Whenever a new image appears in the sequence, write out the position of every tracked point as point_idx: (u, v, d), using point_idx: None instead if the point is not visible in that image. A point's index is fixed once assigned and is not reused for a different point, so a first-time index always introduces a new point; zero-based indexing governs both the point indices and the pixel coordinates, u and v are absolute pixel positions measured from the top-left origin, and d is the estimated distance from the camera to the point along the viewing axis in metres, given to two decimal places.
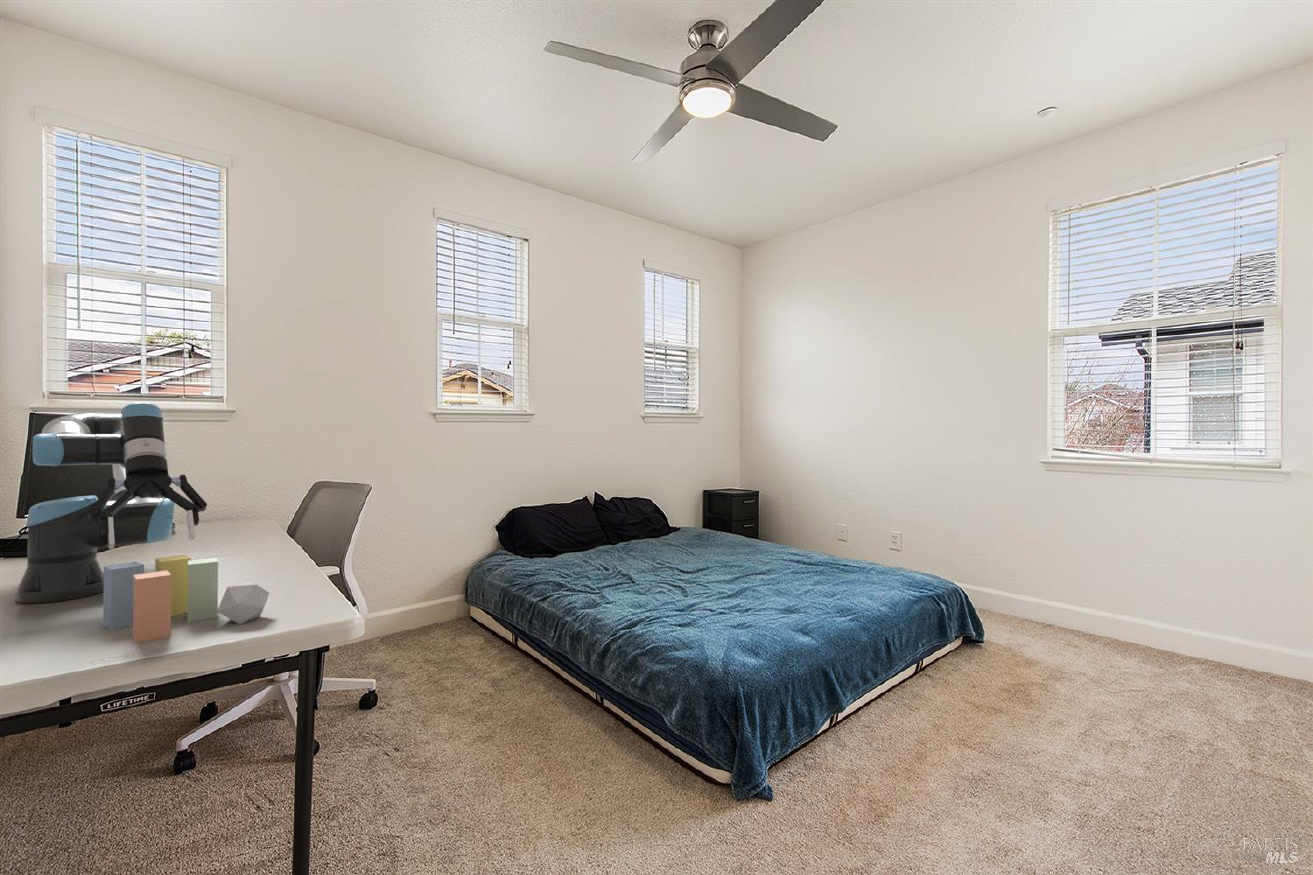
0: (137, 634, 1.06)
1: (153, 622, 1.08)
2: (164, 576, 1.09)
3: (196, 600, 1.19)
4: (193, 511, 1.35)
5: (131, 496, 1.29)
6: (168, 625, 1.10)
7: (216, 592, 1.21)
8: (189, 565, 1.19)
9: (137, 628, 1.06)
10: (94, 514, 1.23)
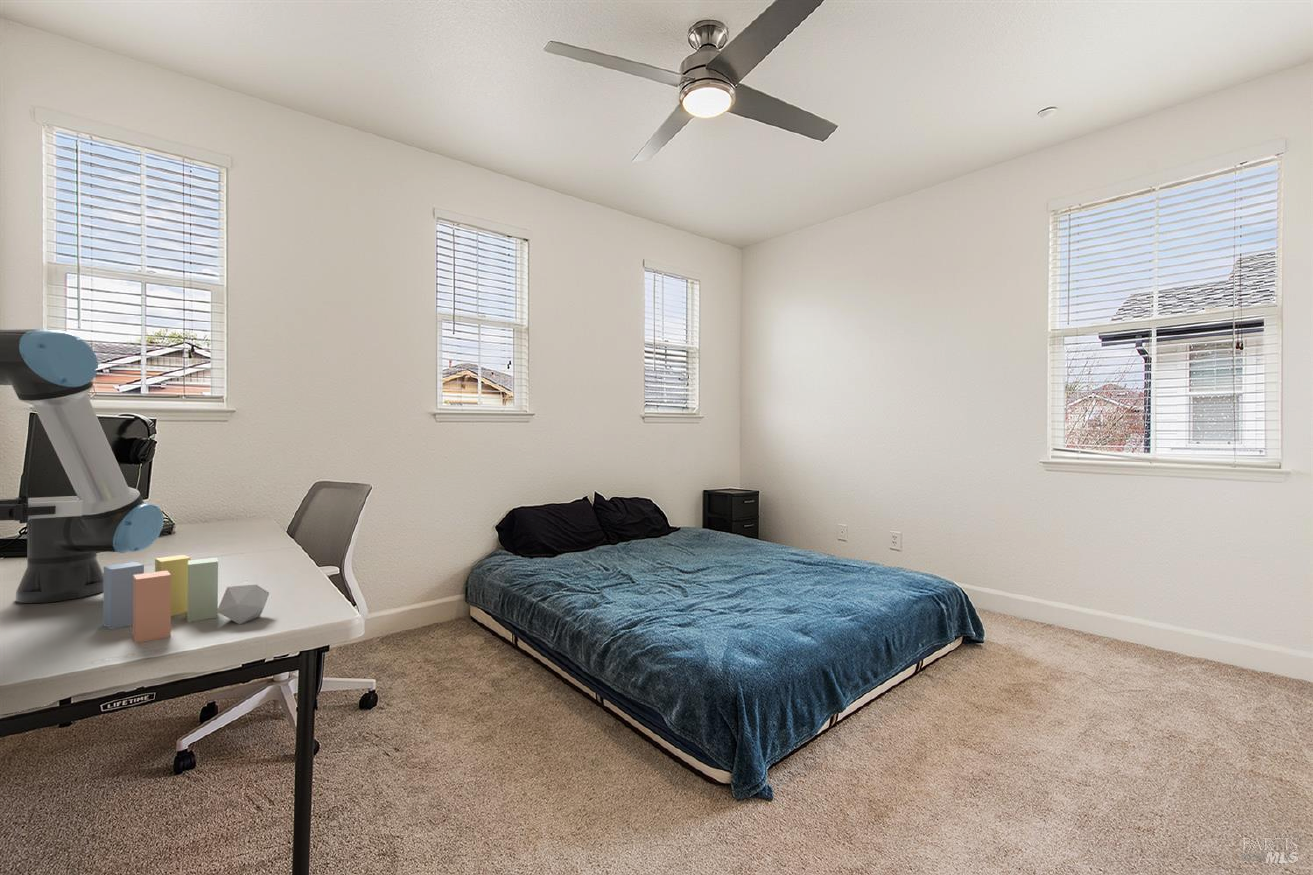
0: (137, 634, 1.06)
1: (153, 622, 1.08)
2: (164, 576, 1.09)
3: (196, 600, 1.19)
4: None
5: None
6: (168, 625, 1.10)
7: (216, 592, 1.21)
8: (189, 565, 1.19)
9: (137, 628, 1.06)
10: None
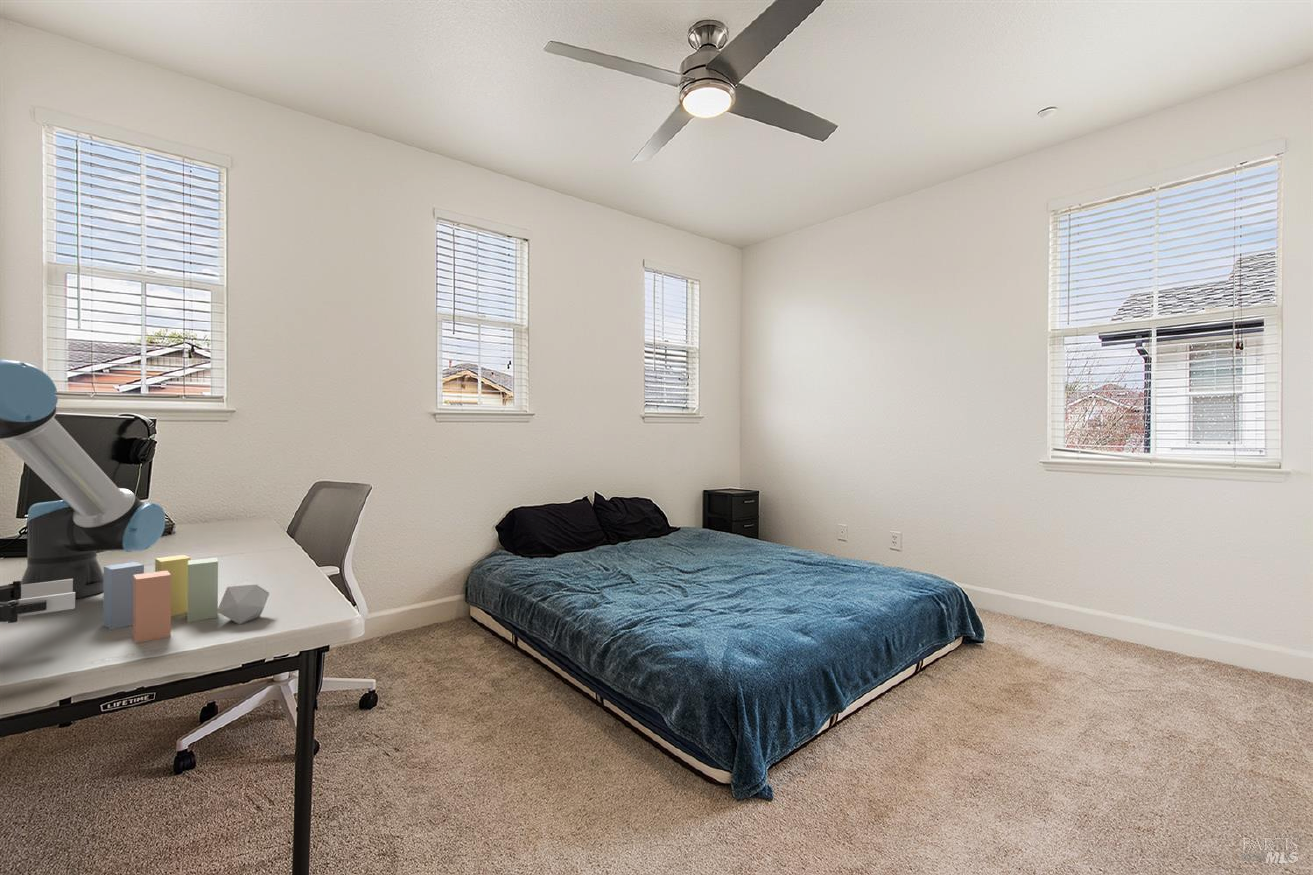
0: (137, 634, 1.06)
1: (153, 622, 1.08)
2: (164, 576, 1.09)
3: (196, 600, 1.19)
4: None
5: None
6: (168, 625, 1.10)
7: (216, 592, 1.21)
8: (189, 565, 1.19)
9: (137, 628, 1.06)
10: None
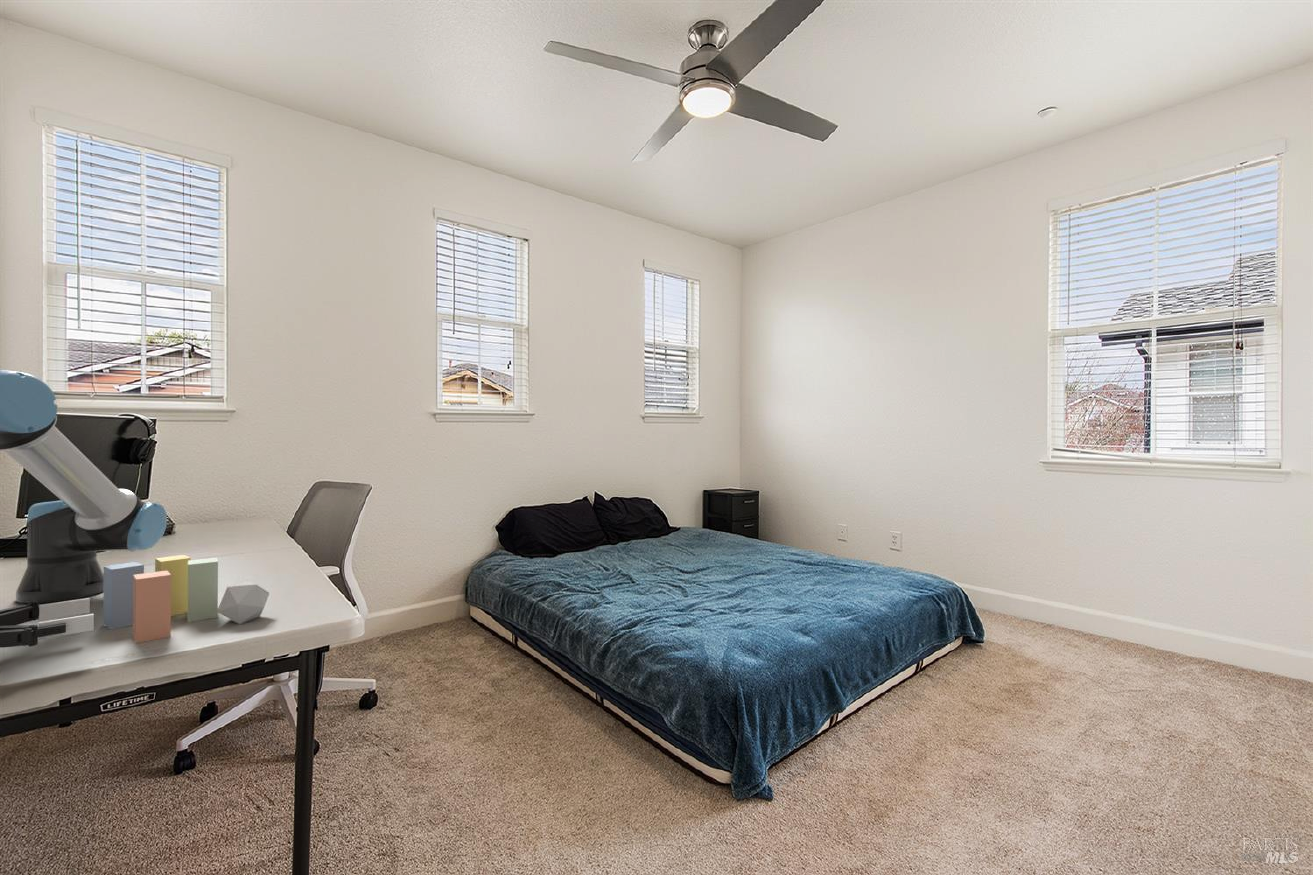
0: (137, 634, 1.06)
1: (153, 622, 1.08)
2: (164, 576, 1.09)
3: (196, 600, 1.19)
4: None
5: None
6: (168, 625, 1.10)
7: (216, 592, 1.21)
8: (189, 565, 1.19)
9: (137, 628, 1.06)
10: None
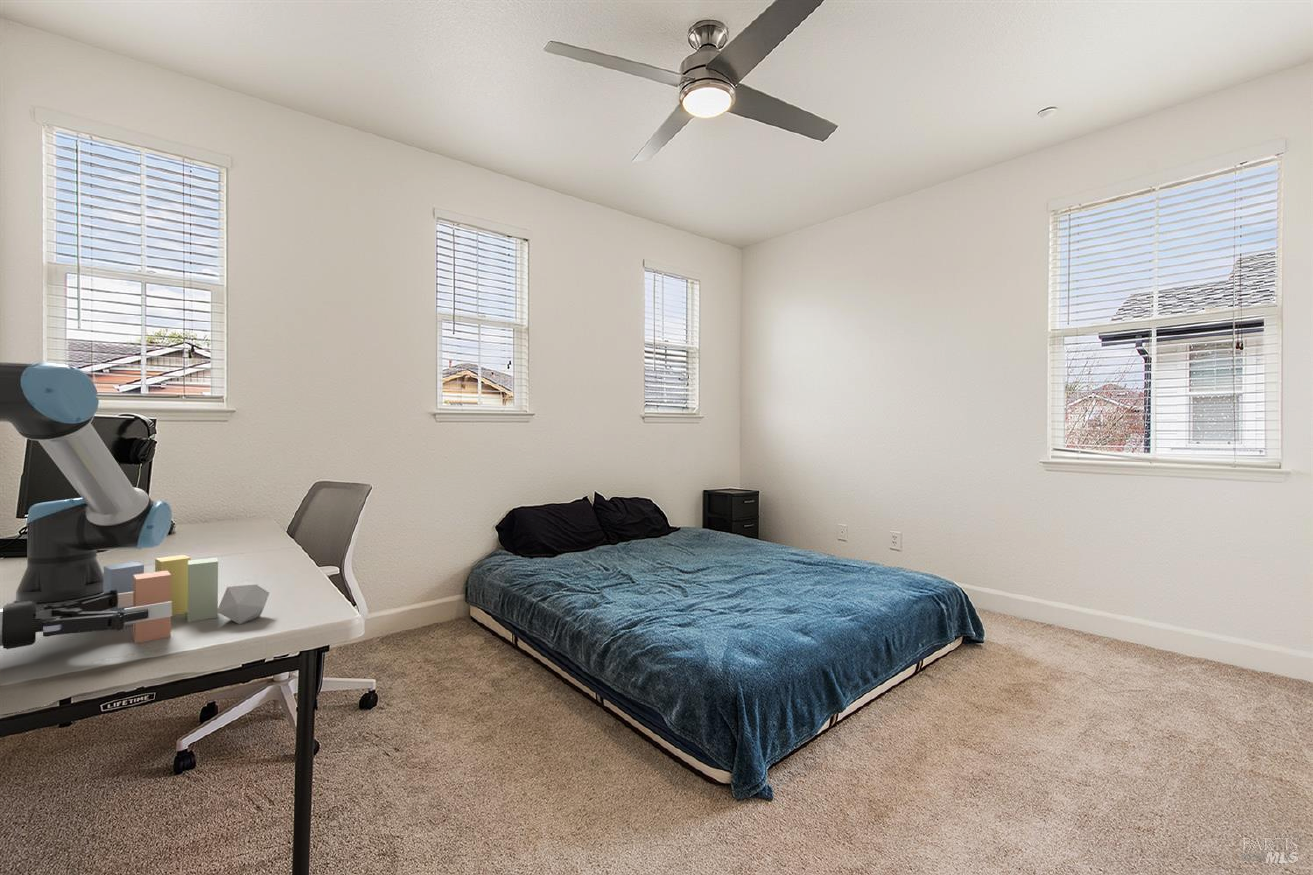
0: (137, 634, 1.06)
1: (153, 622, 1.08)
2: (164, 576, 1.09)
3: (196, 600, 1.19)
4: None
5: None
6: (168, 625, 1.10)
7: (216, 592, 1.21)
8: (189, 565, 1.19)
9: (137, 628, 1.06)
10: None
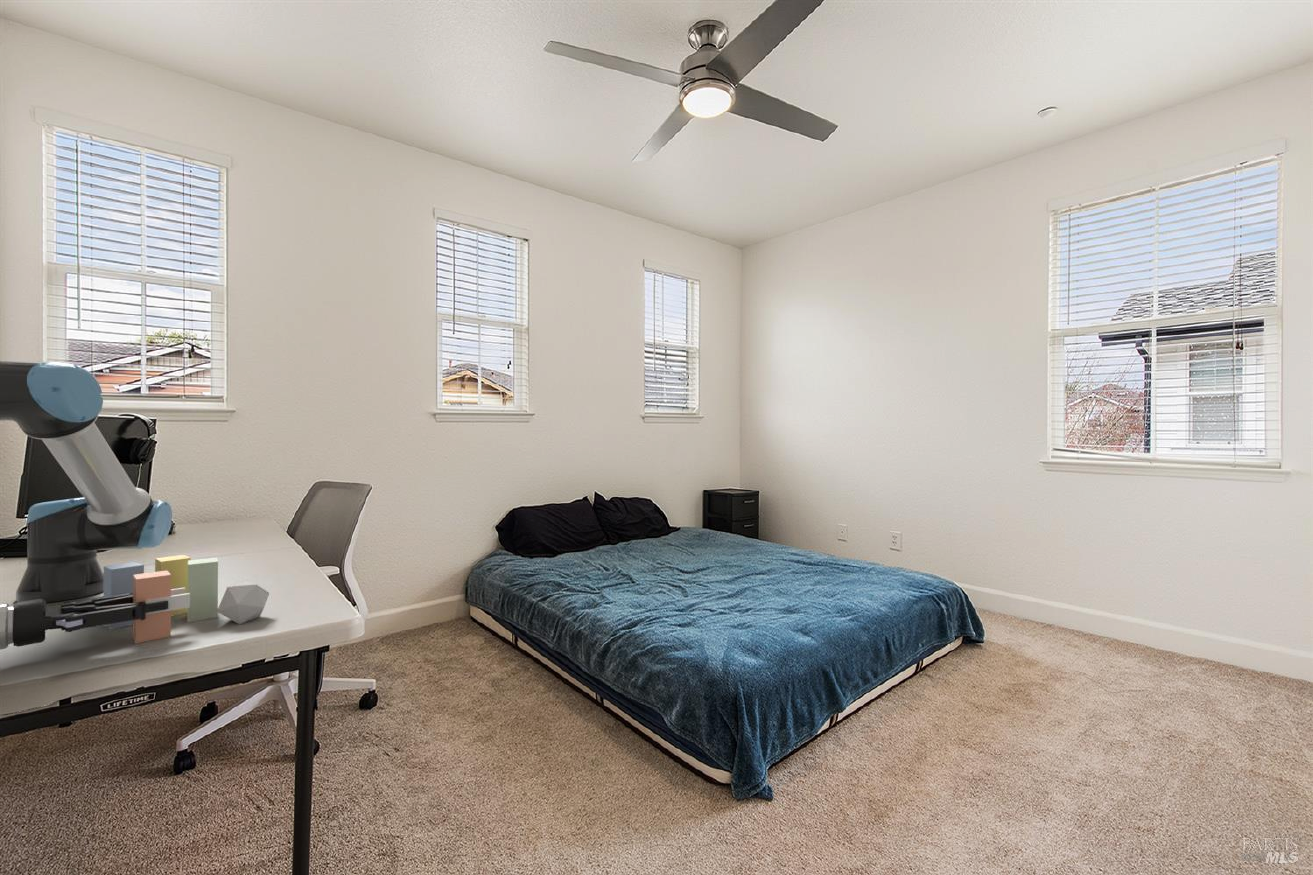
0: (137, 634, 1.06)
1: (153, 622, 1.08)
2: (164, 576, 1.09)
3: (196, 600, 1.19)
4: None
5: None
6: (168, 625, 1.10)
7: (216, 592, 1.21)
8: (189, 565, 1.19)
9: (137, 628, 1.06)
10: None
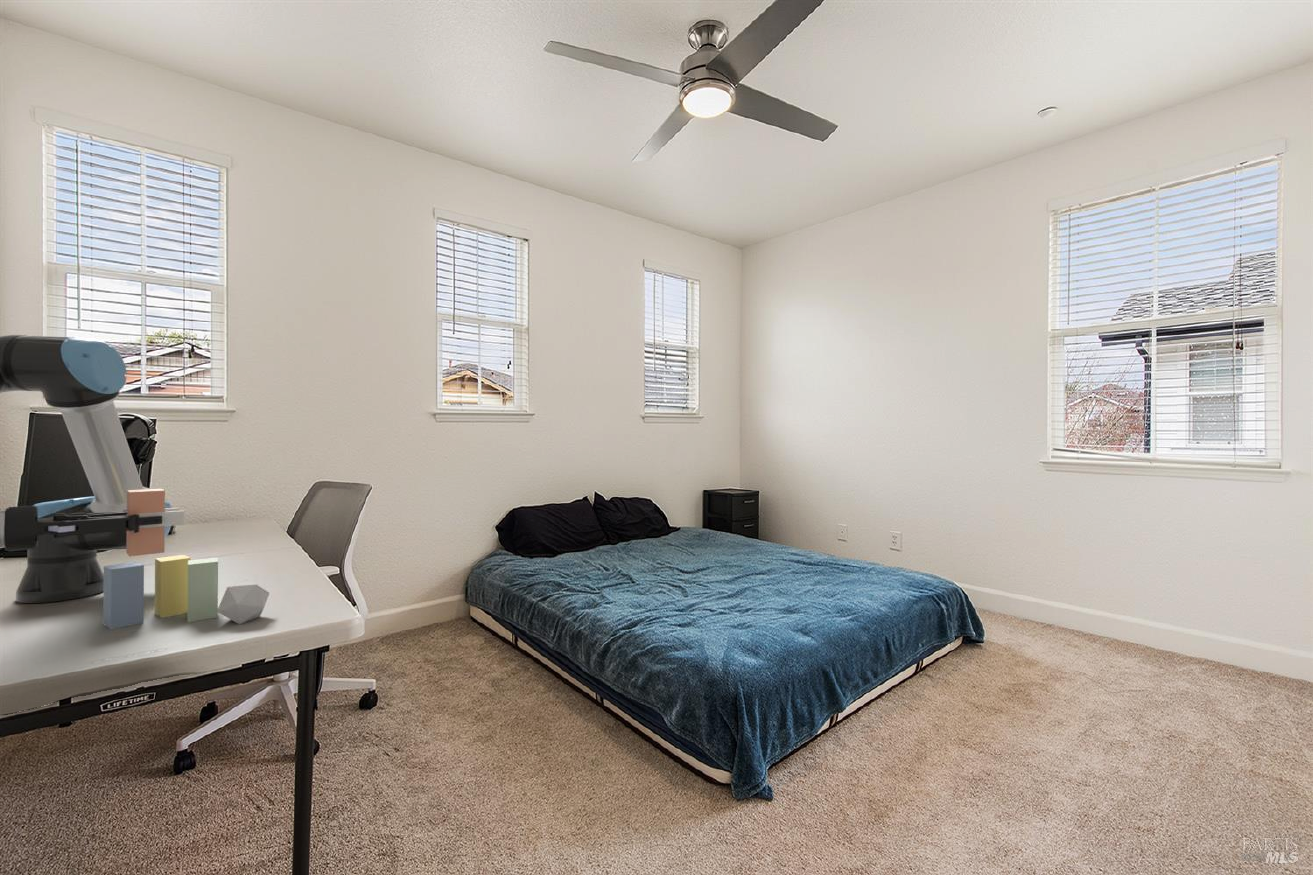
0: (130, 547, 1.06)
1: (146, 537, 1.07)
2: (158, 491, 1.08)
3: (196, 600, 1.19)
4: None
5: None
6: (162, 541, 1.09)
7: (216, 592, 1.21)
8: (189, 565, 1.19)
9: (130, 541, 1.06)
10: None
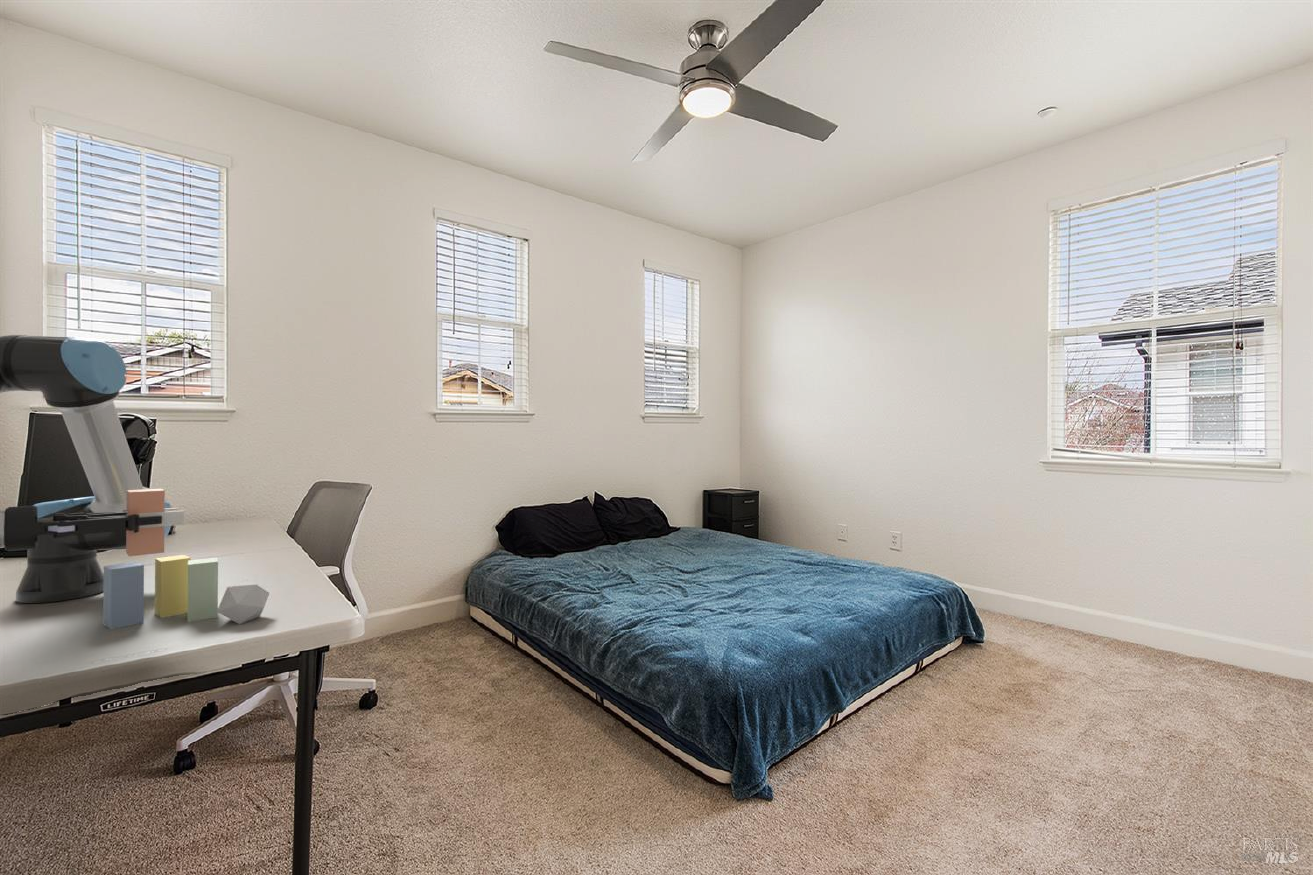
0: (130, 547, 1.06)
1: (146, 537, 1.07)
2: (158, 491, 1.08)
3: (196, 600, 1.19)
4: None
5: None
6: (162, 541, 1.09)
7: (216, 592, 1.21)
8: (189, 565, 1.19)
9: (130, 541, 1.06)
10: None
